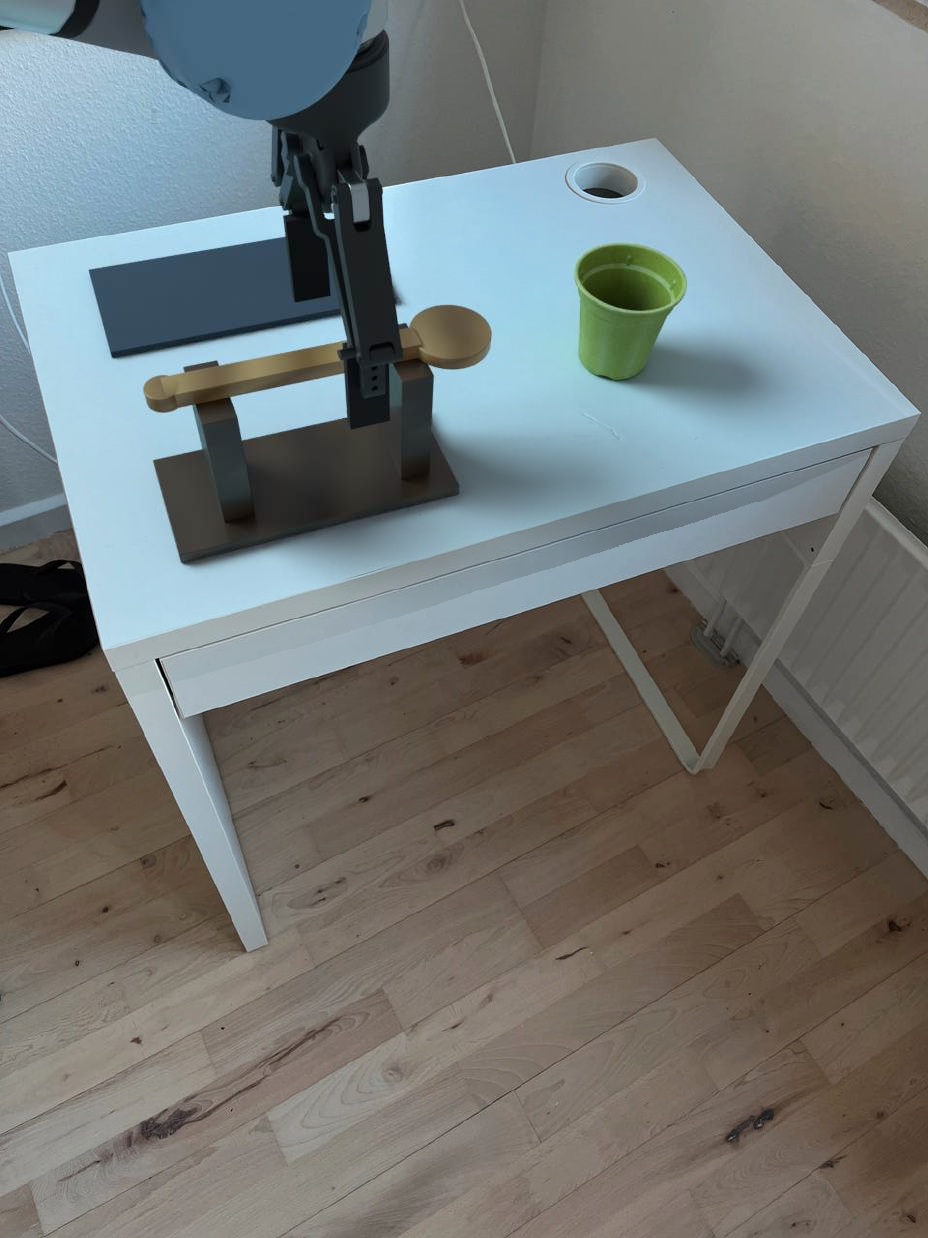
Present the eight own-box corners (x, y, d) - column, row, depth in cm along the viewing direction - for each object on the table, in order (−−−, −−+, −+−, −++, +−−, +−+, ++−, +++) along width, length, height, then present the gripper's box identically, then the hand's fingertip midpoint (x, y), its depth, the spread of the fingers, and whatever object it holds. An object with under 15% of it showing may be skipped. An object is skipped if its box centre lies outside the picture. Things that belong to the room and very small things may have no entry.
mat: (111, 357, 81) (110, 352, 81) (89, 274, 87) (88, 269, 87) (397, 302, 88) (397, 297, 87) (358, 229, 94) (357, 224, 93)
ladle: (155, 434, 61) (151, 421, 60) (138, 375, 64) (134, 361, 63) (503, 360, 67) (505, 347, 66) (472, 309, 71) (473, 295, 70)
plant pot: (597, 407, 81) (617, 324, 74) (539, 342, 86) (553, 258, 79) (683, 375, 84) (709, 293, 77) (622, 314, 89) (643, 231, 82)
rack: (181, 563, 69) (149, 459, 60) (155, 468, 74) (121, 358, 65) (459, 494, 75) (468, 388, 66) (417, 410, 80) (420, 301, 71)
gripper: (472, 145, 43) (452, 468, 60) (317, -79, 55) (338, 242, 73) (312, 170, 41) (339, 496, 58) (190, -68, 53) (242, 259, 71)
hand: (338, 356), depth 66 cm, fingers open, 13 cm apart
